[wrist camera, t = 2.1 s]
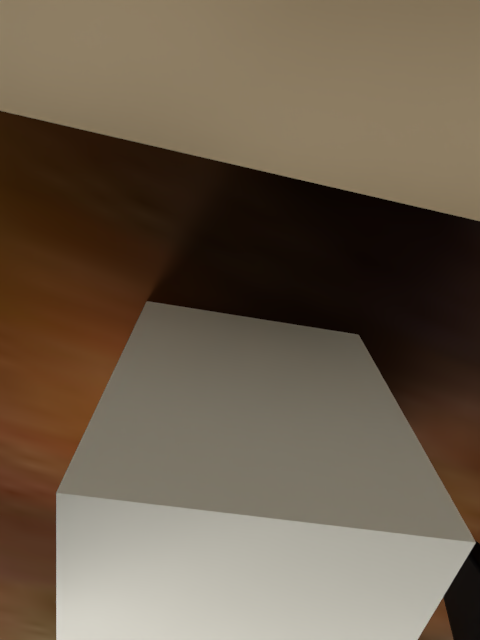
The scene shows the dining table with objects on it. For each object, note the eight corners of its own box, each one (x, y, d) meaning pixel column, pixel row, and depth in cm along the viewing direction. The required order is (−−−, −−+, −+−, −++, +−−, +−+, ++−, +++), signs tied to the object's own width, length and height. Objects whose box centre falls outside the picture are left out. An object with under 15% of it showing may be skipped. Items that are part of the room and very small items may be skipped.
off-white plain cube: (307, 487, 13) (356, 740, 8) (131, 464, 13) (56, 718, 7) (358, 333, 11) (475, 542, 6) (147, 300, 11) (55, 492, 5)
